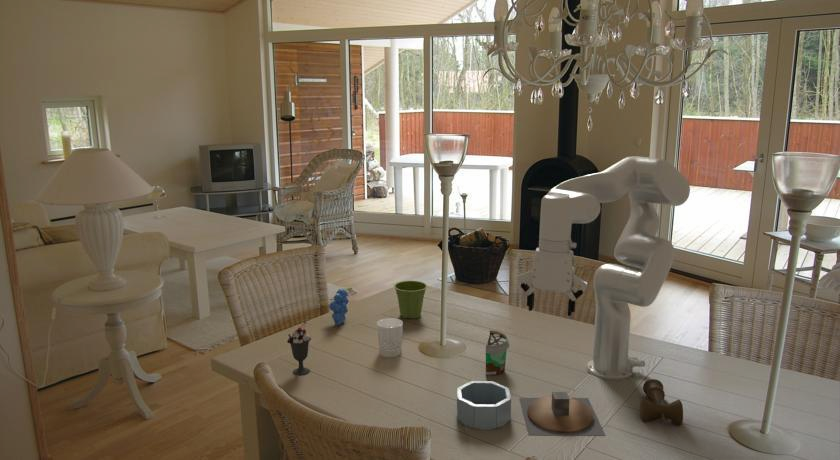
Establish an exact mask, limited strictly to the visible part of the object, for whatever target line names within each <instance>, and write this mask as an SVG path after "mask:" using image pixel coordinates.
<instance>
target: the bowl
mask: <svg viewBox="0 0 840 460" xmlns="http://www.w3.org/2000/svg"><path fill="white" fill-rule="evenodd" d="M456 412H457V413H456V414H457V417H456V418H457V420H458V422H459V423H460V424H461V425H462V426H463V427H466V428H468V429H469V428H473V429H476V430H494V429H495V430H496V429H499V428H502V427H503V426H505V425H507V424H508V423H509V421H510V420H511V419H512V395H511V391H510V388H509V387H507V386H506V385H502V384H500V383H498V382H495V381H491V380H489V381H488V380H471V381H469V382H467V383H465V384H463V385H461V386H458V387H457V388H456Z"/></svg>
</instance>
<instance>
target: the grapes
mask: <svg viewBox="0 0 840 460" xmlns="http://www.w3.org/2000/svg"><path fill="white" fill-rule="evenodd" d="M348 295H349V294H348V292H347V291H346V290H345V289H343V288H339V289H338V290H337V291H336V293H335V295H334V296H333V300H334V301H331V302H330V303H329V304H328V308H329V310H330V311H332V312H333V313H331V314H332V315H331V318H332V319H333V322H334V324H335V325H337V326H340V325H341V324H342V323H344V321H346V316H345V315H346V314H347V313H348V311H349V309H348V307H347V305H348V303H350V300H349V299H348Z"/></svg>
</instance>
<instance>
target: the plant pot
mask: <svg viewBox="0 0 840 460" xmlns="http://www.w3.org/2000/svg"><path fill="white" fill-rule="evenodd" d="M393 287H394V289H395V292H396V293H395V294H396V296H397V303H398V307H399V314H400V316H401V317H402V318H404V319H412V320H413V319H416V318H417V319H418V318H420V317H421V315H422V310H423V305H424V304H423V303H424V296H425V294H426V290H427V288H428V284H427V283H425V282H422V281H420V280H419V281H418V280H403V281H399V282H396V283H395V284H393Z"/></svg>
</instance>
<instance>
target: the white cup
mask: <svg viewBox="0 0 840 460" xmlns="http://www.w3.org/2000/svg"><path fill="white" fill-rule="evenodd" d="M403 326H404V322H403V320H401V319H399V318H394V317H387V318H386V317H385V318H382V319H379V320H378V321H376V327H377V329H376V330H377V339H378V340H377V341H378V349H379V354H380V356H382V357H384V358H397V357H398V356H401V354H402V349H403V348H402V346H403V329H404V327H403Z"/></svg>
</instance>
